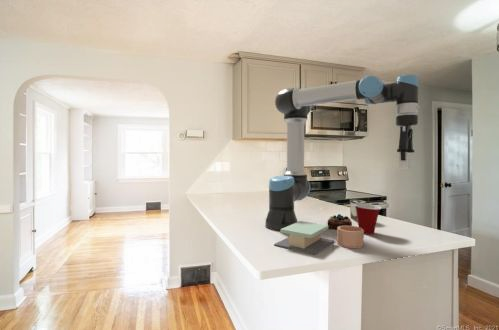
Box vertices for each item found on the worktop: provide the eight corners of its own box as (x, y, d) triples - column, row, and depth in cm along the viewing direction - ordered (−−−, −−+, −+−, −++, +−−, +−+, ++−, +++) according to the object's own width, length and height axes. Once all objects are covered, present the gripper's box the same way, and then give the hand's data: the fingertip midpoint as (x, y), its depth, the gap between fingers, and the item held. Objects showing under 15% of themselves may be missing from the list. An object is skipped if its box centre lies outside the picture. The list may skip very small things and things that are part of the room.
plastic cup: (384, 237, 113) (384, 207, 113) (356, 235, 115) (356, 206, 115) (377, 230, 124) (377, 203, 123) (352, 228, 126) (352, 202, 125)
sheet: (280, 232, 101) (280, 229, 101) (300, 223, 114) (300, 221, 114) (311, 238, 94) (311, 234, 94) (328, 228, 107) (328, 225, 107)
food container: (370, 223, 136) (371, 203, 136) (358, 223, 136) (358, 203, 136) (361, 217, 148) (361, 199, 148) (349, 217, 149) (349, 199, 148)
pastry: (327, 229, 125) (327, 216, 125) (327, 223, 137) (327, 211, 137) (353, 231, 122) (353, 218, 122) (350, 225, 134) (350, 213, 134)
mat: (274, 245, 102) (274, 232, 102) (296, 234, 116) (296, 222, 116) (315, 254, 92) (315, 239, 92) (334, 241, 107) (334, 228, 106)
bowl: (333, 245, 102) (334, 229, 102) (341, 239, 109) (342, 224, 109) (359, 250, 97) (359, 233, 97) (365, 243, 104) (366, 227, 104)
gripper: (413, 110, 97) (412, 170, 98) (421, 118, 117) (420, 167, 118) (390, 112, 102) (389, 169, 103) (401, 119, 122) (400, 167, 123)
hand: (405, 168), depth 110 cm, fingers open, 13 cm apart
